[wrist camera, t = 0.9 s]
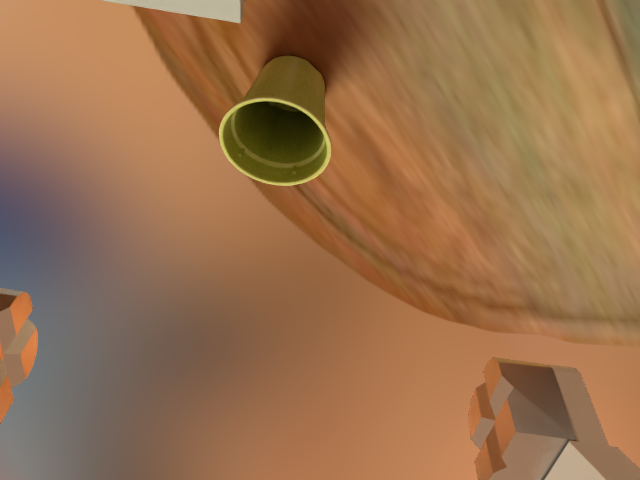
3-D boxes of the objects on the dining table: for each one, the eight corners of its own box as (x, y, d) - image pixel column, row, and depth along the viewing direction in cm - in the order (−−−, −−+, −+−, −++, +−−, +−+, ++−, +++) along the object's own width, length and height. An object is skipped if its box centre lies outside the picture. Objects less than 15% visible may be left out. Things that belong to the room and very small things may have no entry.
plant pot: (343, 128, 59) (331, 190, 54) (248, 121, 60) (227, 182, 55) (343, 41, 52) (330, 102, 47) (236, 35, 53) (210, 94, 48)
